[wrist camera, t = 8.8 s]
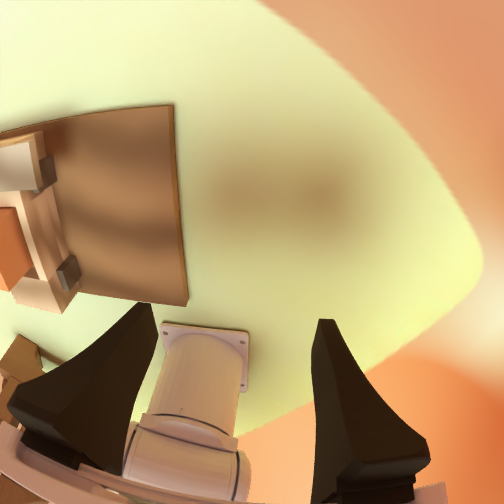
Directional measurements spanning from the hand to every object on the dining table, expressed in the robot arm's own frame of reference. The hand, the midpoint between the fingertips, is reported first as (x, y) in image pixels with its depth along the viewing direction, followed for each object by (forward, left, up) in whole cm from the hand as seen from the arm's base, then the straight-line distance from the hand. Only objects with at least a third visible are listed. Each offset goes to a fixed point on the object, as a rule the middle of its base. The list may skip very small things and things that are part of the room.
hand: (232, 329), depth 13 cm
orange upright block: (+1, +18, -7) cm, 19 cm away
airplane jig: (+1, +15, -9) cm, 18 cm away
